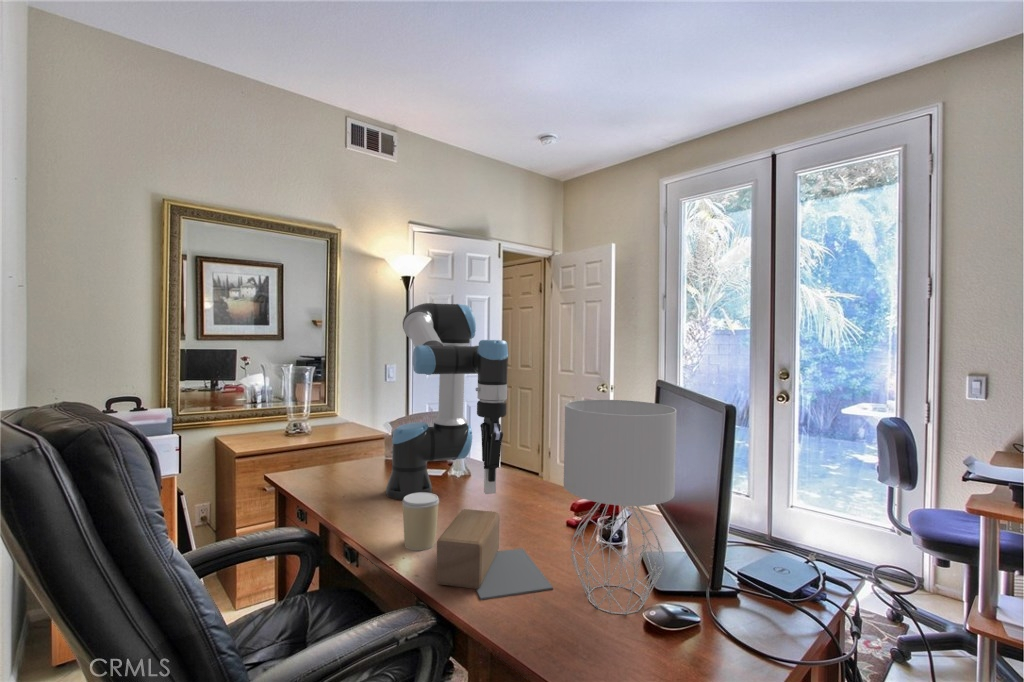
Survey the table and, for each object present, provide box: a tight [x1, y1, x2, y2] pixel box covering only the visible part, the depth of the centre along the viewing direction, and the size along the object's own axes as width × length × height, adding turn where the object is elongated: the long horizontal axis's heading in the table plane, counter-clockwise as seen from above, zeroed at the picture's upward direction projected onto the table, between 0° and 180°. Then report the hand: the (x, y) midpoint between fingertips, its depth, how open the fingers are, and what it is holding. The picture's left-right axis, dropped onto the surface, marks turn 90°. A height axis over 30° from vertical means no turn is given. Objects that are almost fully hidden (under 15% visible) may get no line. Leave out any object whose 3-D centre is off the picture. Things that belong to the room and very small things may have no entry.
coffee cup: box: [401, 492, 440, 551], centre depth 126 cm, size 9×9×12 cm
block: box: [435, 508, 500, 590], centre depth 113 cm, size 10×10×20 cm
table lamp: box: [563, 399, 678, 616], centre depth 101 cm, size 22×22×40 cm
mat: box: [475, 547, 554, 601], centre depth 112 cm, size 20×16×1 cm
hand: (489, 492), depth 125 cm, fingers closed
